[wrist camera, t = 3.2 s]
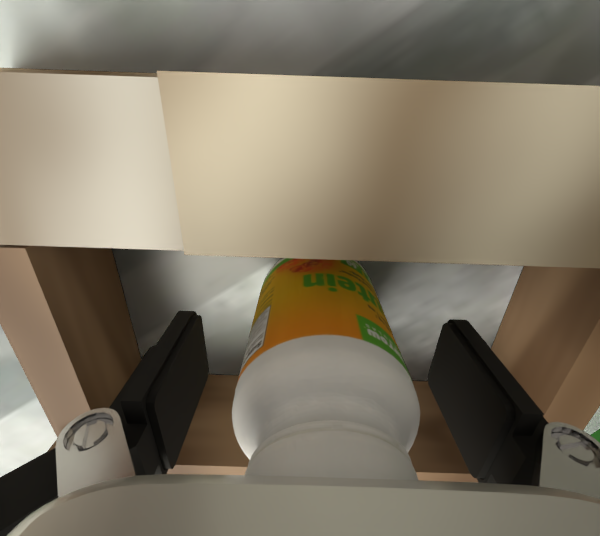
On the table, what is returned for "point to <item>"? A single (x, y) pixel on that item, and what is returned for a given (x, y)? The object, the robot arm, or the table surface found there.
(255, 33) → the table surface
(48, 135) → the frame
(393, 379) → the supplement bottle
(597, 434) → the hardback book
